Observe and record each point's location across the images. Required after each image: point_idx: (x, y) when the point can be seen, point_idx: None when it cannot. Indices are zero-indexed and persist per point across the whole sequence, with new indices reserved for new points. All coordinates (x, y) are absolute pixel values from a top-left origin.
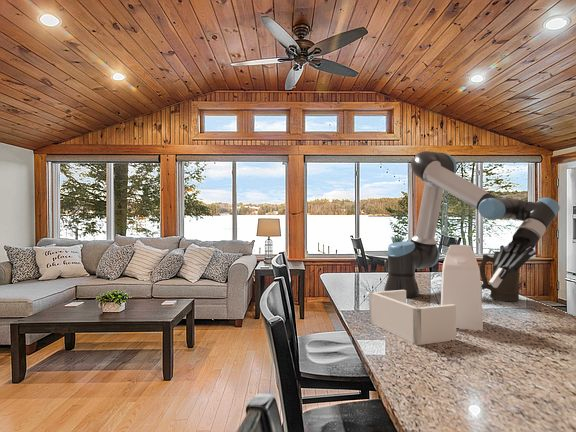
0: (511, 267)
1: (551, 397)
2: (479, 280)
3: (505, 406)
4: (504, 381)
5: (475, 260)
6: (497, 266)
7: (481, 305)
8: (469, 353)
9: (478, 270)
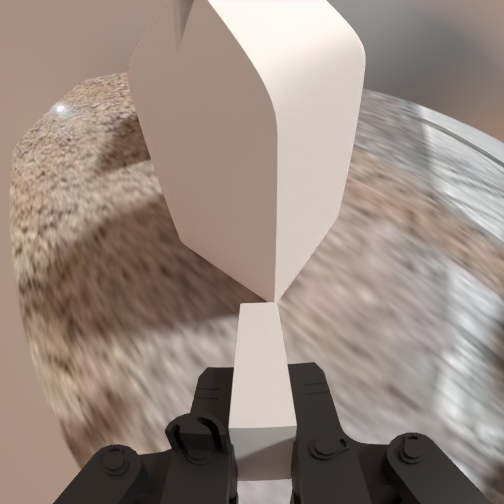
0: (106, 449)
1: (22, 160)
2: (139, 109)
3: (45, 125)
4: (54, 142)
5: (154, 23)
6: (344, 438)
7: (162, 189)
8: (112, 144)
9: (132, 68)
